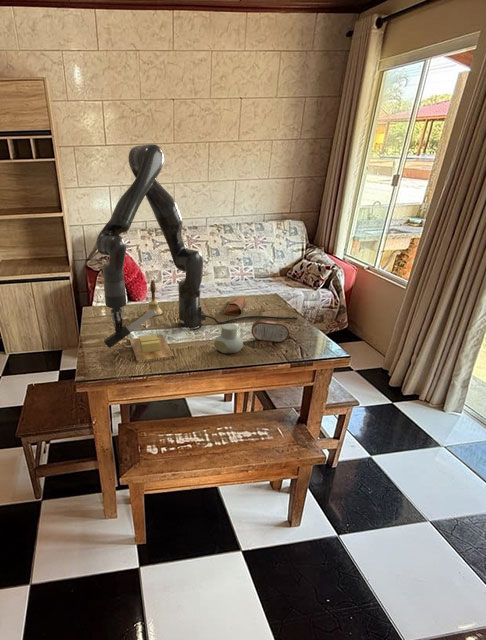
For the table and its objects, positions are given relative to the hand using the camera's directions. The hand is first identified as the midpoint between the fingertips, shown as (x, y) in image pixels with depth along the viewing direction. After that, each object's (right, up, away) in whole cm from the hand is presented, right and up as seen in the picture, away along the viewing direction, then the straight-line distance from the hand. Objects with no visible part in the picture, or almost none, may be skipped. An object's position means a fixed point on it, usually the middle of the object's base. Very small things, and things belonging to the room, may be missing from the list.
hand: (119, 336), depth 154 cm
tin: (+60, -1, +11) cm, 61 cm away
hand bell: (+12, +15, +43) cm, 47 cm away
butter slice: (+12, -5, +4) cm, 14 cm away
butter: (+11, -3, +8) cm, 14 cm away
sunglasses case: (+52, +18, +44) cm, 70 cm away
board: (+12, -4, +7) cm, 15 cm away
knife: (+5, +2, 0) cm, 6 cm away
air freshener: (+42, -5, +4) cm, 43 cm away
